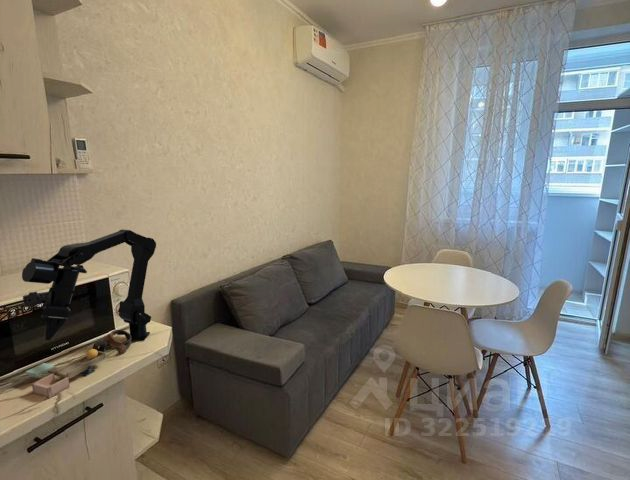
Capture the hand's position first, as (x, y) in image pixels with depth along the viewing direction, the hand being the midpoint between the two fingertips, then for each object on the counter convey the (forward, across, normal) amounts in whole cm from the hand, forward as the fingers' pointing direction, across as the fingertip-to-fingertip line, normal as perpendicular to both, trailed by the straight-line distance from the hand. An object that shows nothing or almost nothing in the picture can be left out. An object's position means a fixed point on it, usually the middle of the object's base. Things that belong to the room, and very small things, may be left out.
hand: (48, 337), depth 97 cm
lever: (+9, -1, +7) cm, 12 cm away
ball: (+5, -1, +12) cm, 13 cm away
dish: (+14, +5, +4) cm, 15 cm away
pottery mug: (+6, -9, +19) cm, 22 cm away
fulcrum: (+10, 0, +12) cm, 15 cm away
